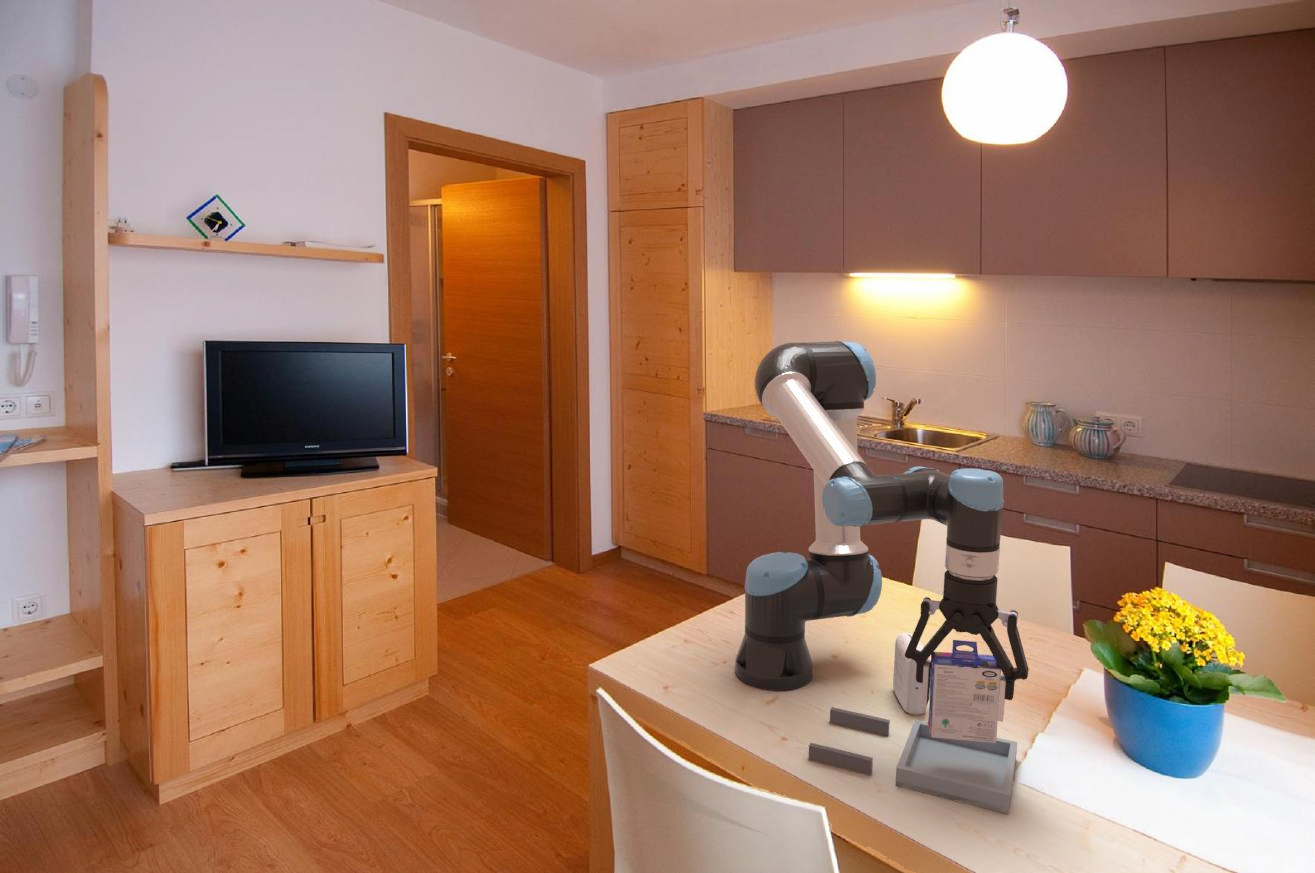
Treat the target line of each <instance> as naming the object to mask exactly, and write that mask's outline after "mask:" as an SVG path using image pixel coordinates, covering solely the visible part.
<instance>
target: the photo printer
mask: <svg viewBox="0 0 1315 873" xmlns="http://www.w3.org/2000/svg"><path fill="white" fill-rule="evenodd" d="M912 635H913V633H910V632H901V633H899V634H898V635H897V636H896V639H895V644H894V661H893V662H894V663H893V677H892V680H893V681H892V688H893V693H894V694H895V696H896V699H897V700H898V701H899V704H900V705H901V707H902V709H903V710H904V712H905V713H908V714H909V715H914V716H915V715H916V716H917V715H923V714H924V713H926V710H927V706H923V705H922V688H923V683H919V682H917V681H916V667H917V664H916V662H915V661H914V660H913V659H908V658H906V657H905V652H906V650H907V647H908V645H909V643H910V640H911V638H912ZM924 647H925V645H924V644H923V643H922V641H921V640H920V641H919V643H918V645H917V648H916V649H917V650H918V651H922V649H923V648H924ZM929 658H930V657H929ZM929 658H928V659H927V660H930V659H929Z"/></svg>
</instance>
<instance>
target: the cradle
mask: <svg viewBox="0 0 1315 873" xmlns="http://www.w3.org/2000/svg"><path fill="white" fill-rule="evenodd" d="M890 722H891V720H890V719H887V718H882V717H877V716H874V715H868V714H865V713H859V712H856V711H852V710H848V709H842V708H838V707H834V706H831V708H830V711H829V724H833V725H838V726H842V727H847V728H850V729H856V730H860V731H863V732H869V733H871V734H877V735H882V736H886V737H888V736H889V735H890ZM807 759H808V761H811V762H816V763H819V764H823V765H827V766H830V767H835V768H838V769H842V770H843V769H844V770H847V771H852V772H856V773H860V774H863V775H868V776H872V774H873V763H874V758H873V757H871V756H867V755H864V754H860V753H859V754H858V753H855V752H852V751H851V752H850V751H846V750H842V749H838V748H834V747H831V746H826V745H821V744H818V743H813V742H809V745H808V757H807Z"/></svg>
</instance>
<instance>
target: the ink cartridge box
mask: <svg viewBox="0 0 1315 873" xmlns="http://www.w3.org/2000/svg"><path fill="white" fill-rule="evenodd" d="M961 646H965V647H970V648H972V651H971V650H960V649H959V650H958V649H957V647H961ZM951 651H952V652H945V651H934V652H933V653H932V654H931V655H930V660H931V677H930V695H929V708H928V719H927V720H928V727H929V733H930V737H932V738H944V739H955V740H965V741H976V742H986V743H996V738H998V736H997V735H998V734H997V732H998V721H997V719H998V704H999V690H1000V679H1001V674H1002V671H1001V669H1000V667H999V665H998V663H997V662H996V660H995V658H994V656H993V654H980V653H979V652H978V642H977V641H971V640H970V641H969V640H960V639H953V640H952V650H951Z"/></svg>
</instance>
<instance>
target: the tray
mask: <svg viewBox="0 0 1315 873" xmlns="http://www.w3.org/2000/svg"><path fill="white" fill-rule="evenodd" d="M1017 752H1018V741H1013V740H1009V739H1004V738H1000V737H996V743H986V742H976V741H965V740H955V739H944V738H932V737H930V733H929V727H928V722H926V721H923V720H917V719H914V722H913V724H912V727H911V730H910V732H909V735H908V737H907V739H906V743H905V745H904V747H903V750H902V752H901V755H900V758H899V760H898V763H897V765H896V771H895V786H896V787H900V788H903V787H904V789H907V790H911V789H912V791H915V792H920V793H923V792H924V793H923V794H927V795H932V796H936V797H940V798H944V799H948V800H950V801H951V800H952V801H954V800H956V801H955V802H958V801H959V803H963V804H966V803H967V804H966V805H970V806H975V807H979V808H983V809H986V810H990V809H991V811H994V810H995V811H994V812H997V813H1002V812H1004V813H1003V814H1006V813H1008V814H1009V811H1010V803H1011V797H1012V789H1013V783H1014V776H1015V769H1016V768H1015V767H1016V762H1017Z"/></svg>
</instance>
